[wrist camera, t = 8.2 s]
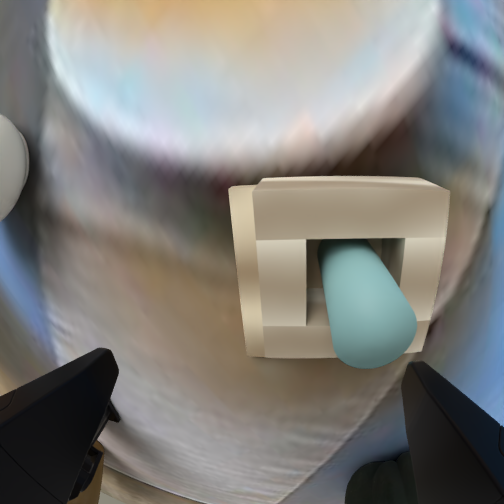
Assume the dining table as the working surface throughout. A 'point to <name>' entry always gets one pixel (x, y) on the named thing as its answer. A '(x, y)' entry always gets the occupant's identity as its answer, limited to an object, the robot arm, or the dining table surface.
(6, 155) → the lidded jar
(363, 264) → the peg
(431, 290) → the socket board
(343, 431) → the dining table surface
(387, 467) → the squash
